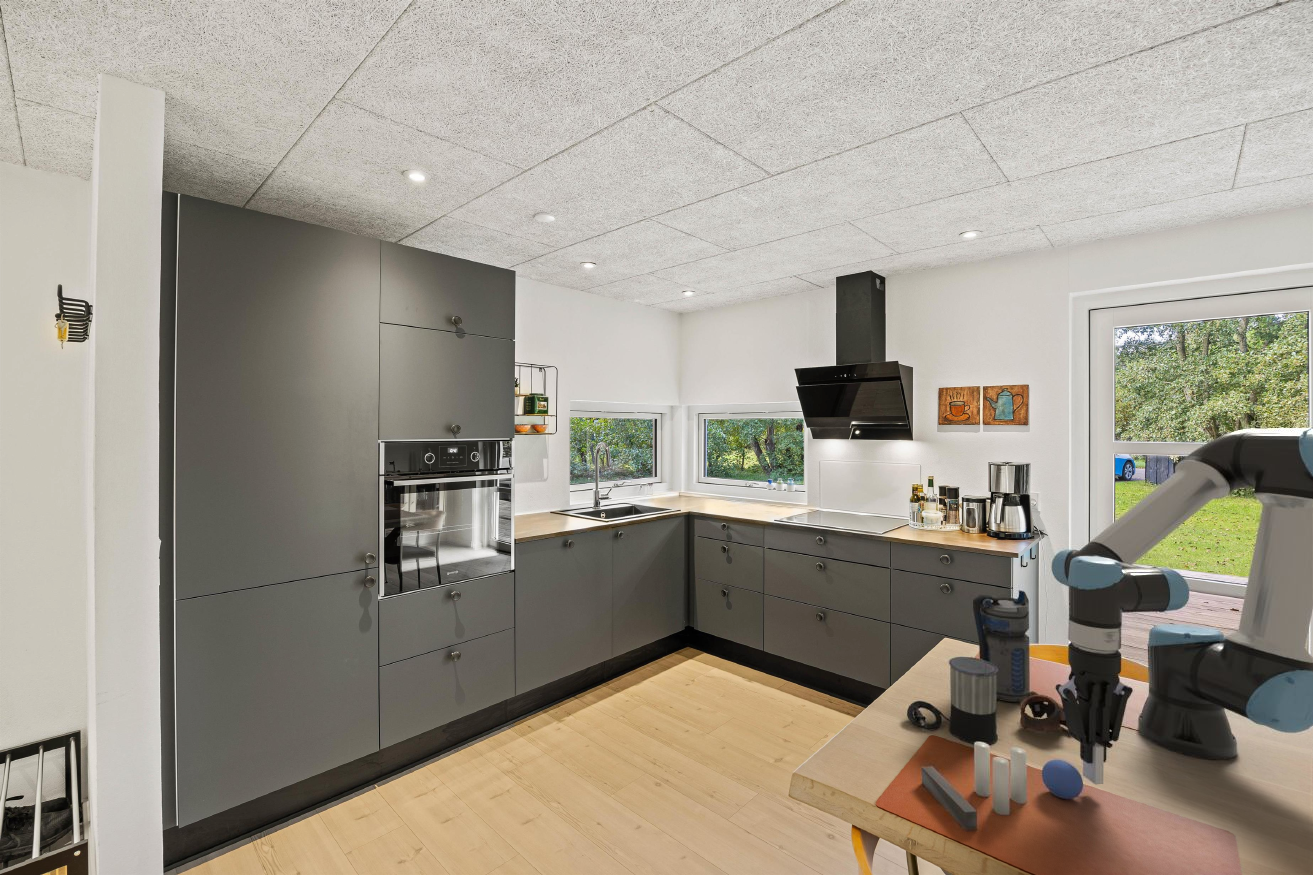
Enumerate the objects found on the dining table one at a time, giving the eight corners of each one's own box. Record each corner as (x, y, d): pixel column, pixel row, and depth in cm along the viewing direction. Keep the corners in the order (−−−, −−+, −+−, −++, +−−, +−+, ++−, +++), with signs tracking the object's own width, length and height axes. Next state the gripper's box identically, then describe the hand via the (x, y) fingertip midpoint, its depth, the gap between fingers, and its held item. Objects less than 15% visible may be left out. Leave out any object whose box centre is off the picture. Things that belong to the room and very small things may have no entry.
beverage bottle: (962, 687, 149) (962, 587, 148) (1013, 684, 150) (1013, 585, 149) (988, 705, 139) (987, 598, 138) (1042, 703, 140) (1042, 596, 139)
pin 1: (984, 788, 107) (983, 741, 107) (993, 796, 105) (992, 748, 105) (971, 789, 107) (971, 741, 107) (980, 797, 105) (979, 749, 105)
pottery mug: (1087, 743, 123) (1074, 713, 121) (1042, 760, 124) (1028, 730, 123) (1053, 702, 134) (1040, 674, 133) (1012, 718, 136) (999, 691, 134)
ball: (1040, 748, 107) (1028, 779, 107) (1067, 766, 101) (1054, 800, 101) (1069, 758, 108) (1057, 789, 108) (1096, 777, 102) (1084, 811, 102)
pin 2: (1003, 805, 102) (1002, 756, 102) (1012, 814, 100) (1012, 764, 100) (989, 806, 102) (989, 757, 102) (999, 815, 100) (998, 765, 100)
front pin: (1020, 794, 105) (1019, 746, 105) (1030, 802, 103) (1029, 753, 103) (1007, 795, 105) (1007, 747, 105) (1016, 803, 103) (1016, 754, 103)
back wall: (932, 782, 109) (932, 765, 109) (977, 829, 96) (977, 811, 96) (921, 783, 109) (921, 766, 109) (965, 830, 96) (965, 812, 96)
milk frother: (1009, 743, 122) (1008, 671, 122) (938, 751, 120) (937, 677, 120) (963, 711, 136) (962, 646, 136) (899, 717, 134) (898, 651, 134)
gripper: (1076, 655, 101) (1075, 794, 101) (1147, 652, 102) (1146, 790, 102) (1043, 640, 108) (1042, 769, 108) (1110, 637, 109) (1108, 765, 110)
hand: (1092, 779), depth 105 cm, fingers closed
